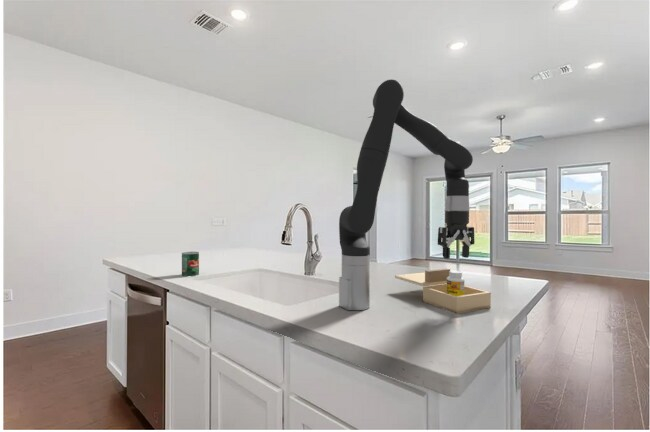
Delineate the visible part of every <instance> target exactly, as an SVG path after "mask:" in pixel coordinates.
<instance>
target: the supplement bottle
mask: <svg viewBox="0 0 650 432" xmlns="http://www.w3.org/2000/svg"><path fill="white" fill-rule="evenodd" d="M446 284H447V294H450V295H454V296H463V295H464V286H465V278H463V272H462V271H458V270H450V271H449V277H447V283H446Z"/></svg>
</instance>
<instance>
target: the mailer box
mask: <svg viewBox="0 0 650 432" xmlns="http://www.w3.org/2000/svg"><path fill="white" fill-rule="evenodd" d="M491 294H492V293H491V291H486V290H483V289H480V288H475V287H471V286H469V285H468V286H467V285H464V295H463V296H454V295H450V294H447V283H446V284H438V285H430V286H422V302H423V303H426V304H429V305H432V306H435V307H438V308H440V309H443V310H446V311H449V312H451V313H453V314H457V315H458V314H463V313H469V312H473V311H480V310H485V309H490V308H491V306H492V304H491V302H492V299H491Z"/></svg>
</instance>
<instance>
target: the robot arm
mask: <svg viewBox="0 0 650 432" xmlns="http://www.w3.org/2000/svg"><path fill="white" fill-rule="evenodd" d="M404 97H405V95H404V88H403V86H402V84H401V83H400V82H399V81H398V80H396V79H387V80H384V81H383V82H381V84H380V85H379V86H378V87H377V88H376V91H375V92H374V95H373V97H372V106H373V109H374V110H373V114H372V117H371V122H370V124H369V127H368V129H367V131H366V133H365V136H364V138H363V141H362V144H361V147H360V150H359V154H358V159H357V164H356V179H357V184H356V192H355V196H354V198H353V202H352V205H349V206H347V207H344V209H342V211H341V212H340V215H339V221H338V230H339V231H338V232H339V245H340V249H341V276H339V277H338V297H339V298H338V305H339V306H340V307H341V308H343V309H345V310H346V311H364V310H368V309H369V308H370V304H371V303H370V302H371V301H370V300H371V299H370V298H371V297H370V293H371V292H370V289H371V288H370V286H371V285H370V278H371V276H370V275H371V274H370V273H371V272H370V269H371V268H370V267H371V266H370V265H371V264H370V263H371V262H370V260H371V258H370V256H371V253H370V252H371V250H370V249H371V248H370V245H369V244H368V242H367V240H366V233H368V232H369V231H371V229H372V228H373V227H372V226H373V224H374V221H375V216H376V209H377V203H378V202H377V201H378V196H379V192H380V188H381V185H382V181H383V176H384V172H385V169H386V166H387V165H386V164H387V161H388V158H389V153H390V147H391V143H392V138H393V132H394V127H395V126H394V125H396V126H398V127H399V128H401V129H403V131H405V132H407V133H408V134H410V135H411V136H412V137H413V138H415V139H416V140H417V142H419V143H420V144H421V145H423V146H424V147H425V149H427V150H428V151H430V152H431V153H432V154H434V155H436V156H440V157H442V158H443V159H444V165H443V169H444V176H445V181H446V187H445V188H446V189H445V190H446V193H445V194H446V196H445V197H446V198H445V205H444V206H445V207H444V223H445V224H446V227H445V226H439V227H438V230H437V246H441V247H442V258H443V259H447V260H449V259H451V245H452V243H454V241H459V242H460V243H461V245H462V246H461V257H462V258H469V256H470V247H471V246H472V245H475V227H473V226H467V225H468V224H469V223H470V197H469V195H470V194H469V193H470V183H469V180H468V179H466V175H465V170H467V169H469V168H470V167H471V166H472V164H473V161H474V159H473V154H472V153H471V151H470V150H469V149H468V148H467V147H465V146H464V145H462V144H461V143H459V142H457V141H456V140H453V139H452V138H450V137H449V136H447V134H445V133H444V132H443V131H442V130H441V129H440V128H439V127H438V126H436V125H435V124H433V123H432V122H430V121H428V120H426V119H424V118H422V117H419V116H418V115H416V114H414V113H412V112H411V111H409V109H407V108H406V107H405V106H404V105H403V104H402V103H403V100H404Z"/></svg>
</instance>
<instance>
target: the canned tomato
mask: <svg viewBox="0 0 650 432" xmlns="http://www.w3.org/2000/svg"><path fill="white" fill-rule="evenodd" d="M196 275H197V276H199V275H200V251H184V252H183V251H182V252H181V277H184V276H191V277H197V276H196Z"/></svg>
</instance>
